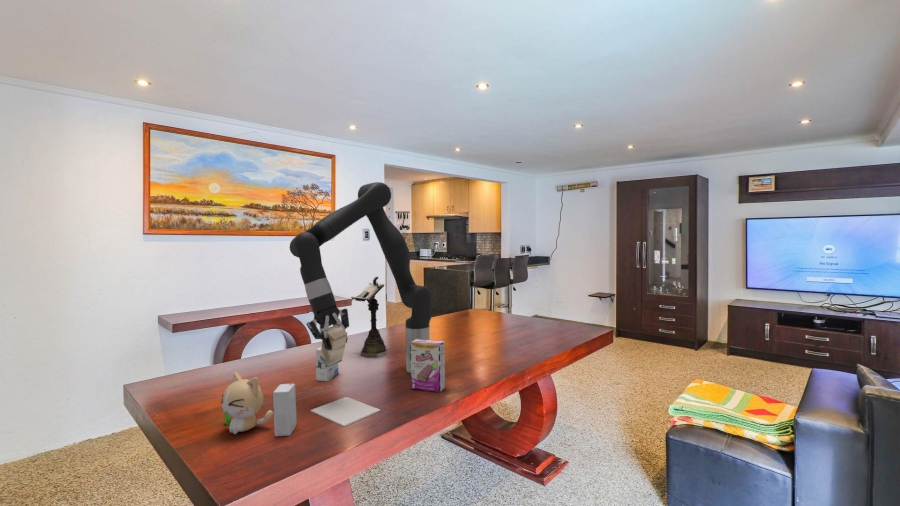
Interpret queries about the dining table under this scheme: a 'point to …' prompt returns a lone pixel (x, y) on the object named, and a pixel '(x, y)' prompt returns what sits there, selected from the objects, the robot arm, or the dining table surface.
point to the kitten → (243, 404)
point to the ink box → (324, 368)
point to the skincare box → (284, 409)
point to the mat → (345, 411)
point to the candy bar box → (427, 365)
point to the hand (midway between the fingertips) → (337, 346)
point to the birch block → (334, 346)
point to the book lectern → (372, 321)
